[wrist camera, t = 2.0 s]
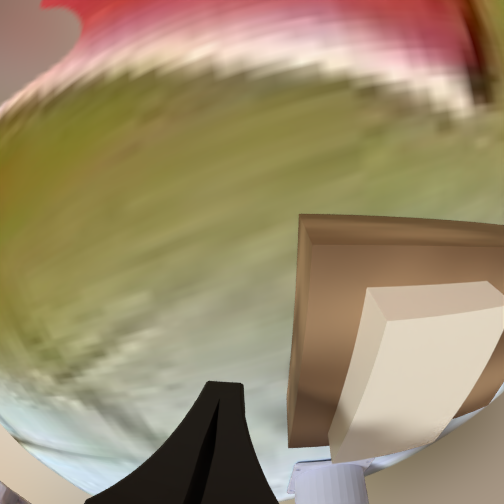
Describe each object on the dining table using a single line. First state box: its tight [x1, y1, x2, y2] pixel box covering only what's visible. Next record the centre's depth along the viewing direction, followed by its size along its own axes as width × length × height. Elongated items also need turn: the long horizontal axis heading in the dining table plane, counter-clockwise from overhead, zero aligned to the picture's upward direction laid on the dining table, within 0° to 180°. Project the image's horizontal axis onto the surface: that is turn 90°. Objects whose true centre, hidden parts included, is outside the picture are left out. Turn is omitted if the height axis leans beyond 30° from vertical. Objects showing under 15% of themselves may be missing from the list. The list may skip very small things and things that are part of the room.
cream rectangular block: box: [328, 281, 504, 464], centre depth 9 cm, size 9×6×2 cm, turn 1°
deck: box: [287, 214, 504, 448], centre depth 12 cm, size 12×15×4 cm
